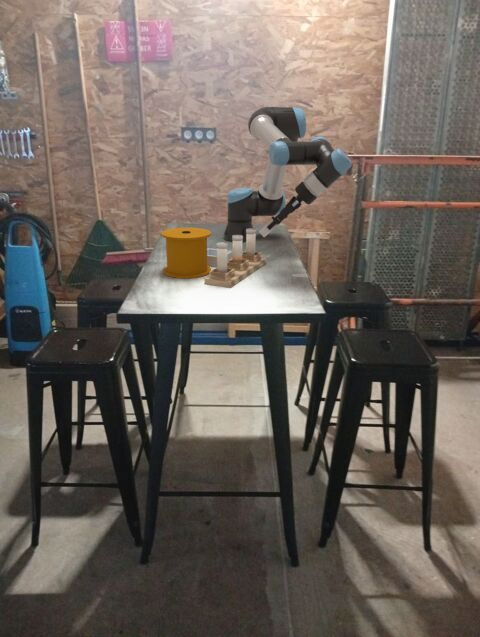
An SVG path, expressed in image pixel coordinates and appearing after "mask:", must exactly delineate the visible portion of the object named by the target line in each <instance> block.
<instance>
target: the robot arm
mask: <svg viewBox="0 0 480 637" xmlns="http://www.w3.org/2000/svg"><path fill="white" fill-rule="evenodd" d="M247 126H248V127H247V128H248V132H249V134H250V135H251V136H252V137H253V138H254V139H255V140H257V141H260V142H261V143H262V144H263V145H264V146H265V147H266V149H268V161H267V165H266V170H265V173H264V177H263V178H264V179H263V182H262V184H260V185H259V187H258V189H257V190H255V191H254V189H253V188H251V187H243V188H242V187H240V188H236V189H232V190H230V191H229V192H228V194H227V201H226V202H227V221H226V226H225V230H224V233H223V239H224V240H225V241H227V242H232V243H233V240H232V236H233V235H242V236H243V240H242V243H246V229H248V228H253V229H254V226H253V218H254V217H271V219H270V220H269V221H268V222H267V223H266V224H265V225H264V226H263V227H262V228H261V229H260V230H259V231H258V233H259V234H260V235H261V236H262V237H263V238H266V237H267V235H269V234H270V233H271V232H272V231H273V230H274V229H275V228H276V227H277V226H279V225H281V222H283V221H284V220H285V219H287V218H288V217H289V216H290V214H292V213H294V212H296V210H298V209H299V208H300V207H301V206H302V202H304V203H305V204H307V205H311V204H312V203H313V202H314V201H316V199H317V197H320V196H321V195H322V194H326V193H327V191H326V190H327V189H328V188H329V187H331V186H332V185H333V184H334V183H335V182H337V180H339V179H341V177H342V176H343V175H345V174H346V173H347V171H348V170H350V169H351V167H352V165H353V164H352V161H351V159H350V158H349V156H347V154H346V153H345V151H343V150H342V149H341V148H339V147H338V148H336V149H334V148H333V145H332V144H331V142H329V140H327V139H326V137H324V136H322V135H321V136H316V137H313V138H312V139H311V140H309V141H299V139H303V138H304V137H305V135H306V133H307V132H306V131H307V120H306V114H305V112H304V110H303V108H300V107H293V106H291V107H285V106H265V107H260V108H258V109H257V110H255V111H254V112H253V113H252V114H251V115H250V117H249V118H248V124H247ZM302 165H303V166H308V165H309V166H316V167H315V169H314V170H313V171H311V172H310V173H309V174H308V175H307V176H306V177H305V178H304V180H303V181H301V182H300V183H298V184H297V185H296V186H295V188H294V190H295V194H297V195H296V196H295V195H293V196H292V198H290V199H289V201H288V202H287V203H285V202H286V194H285V192H284V191H283V188H282V187H283V182H284V179H285V177H286V176H285V175H286V173H287V169H288V166H302Z"/></svg>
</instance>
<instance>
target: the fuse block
mask: <svg viewBox="0 0 480 637" xmlns="http://www.w3.org/2000/svg"><path fill="white" fill-rule="evenodd" d="M266 262H267V259H266V258H265V257H264V258H262V252H261V251H255V256H252V255H246V250H245V251H242V264H237V263H232V259H231V260H229V261H227V273H219V272H217V267H215V268H213V269H211V271H210V272H209V274H208V275H207V276H206V277H204V285H209V284H210V285H209V286H215V285H216V286H217V287H222V288H223V287H224V288H232V287H234V286H236V285H237V284H239V283H240V282H241V281H243V280H245V278H248V276H250V275H251V274H252V273H254V272H256V271H257V270H259V269H260V268H261V267H263V266H264V265H266Z"/></svg>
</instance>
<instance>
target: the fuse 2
mask: <svg viewBox="0 0 480 637" xmlns="http://www.w3.org/2000/svg"><path fill="white" fill-rule="evenodd" d="M256 238H257V229H256V228H254V227H253V228H248V229H246V242H245V243H246V244H245V246H246V247H245V251H246V255H252V256H255V252H256V243H257V242H256V241H257V240H256Z"/></svg>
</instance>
